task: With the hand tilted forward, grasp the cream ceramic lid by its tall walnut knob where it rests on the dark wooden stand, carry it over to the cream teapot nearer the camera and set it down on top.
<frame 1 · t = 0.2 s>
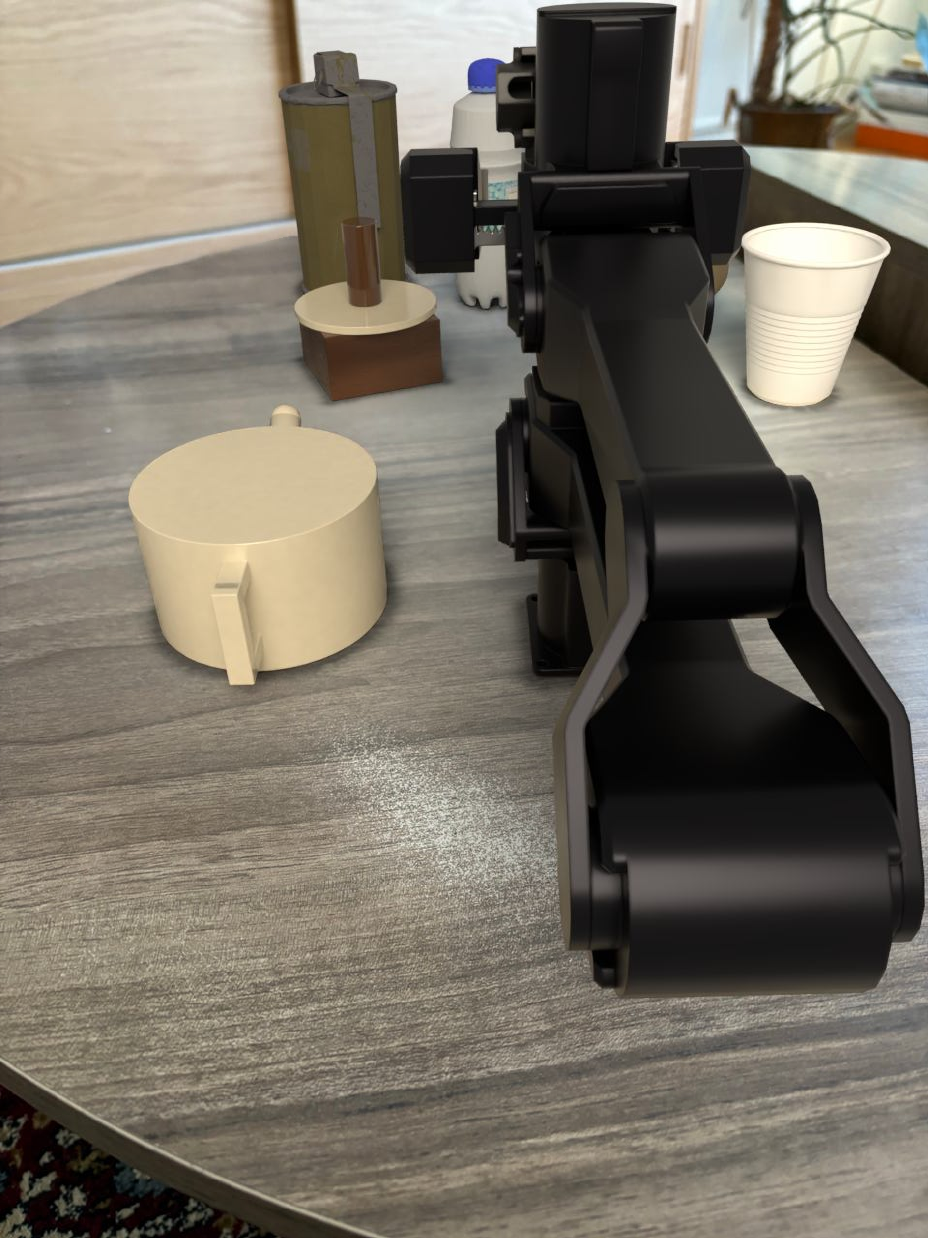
hand: (558, 175, 62), 17 cm above the table, tool horizontal, fingers open, 9 cm apart
canister: (356, 289, 97), on the table
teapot: (274, 600, 55), on the table
lid: (366, 309, 77), point 5 cm above the table, touching stand
bowl: (651, 325, 87), on the table
stand: (371, 370, 80), on the table
cup: (787, 393, 75), on the table
bottle: (490, 302, 93), on the table
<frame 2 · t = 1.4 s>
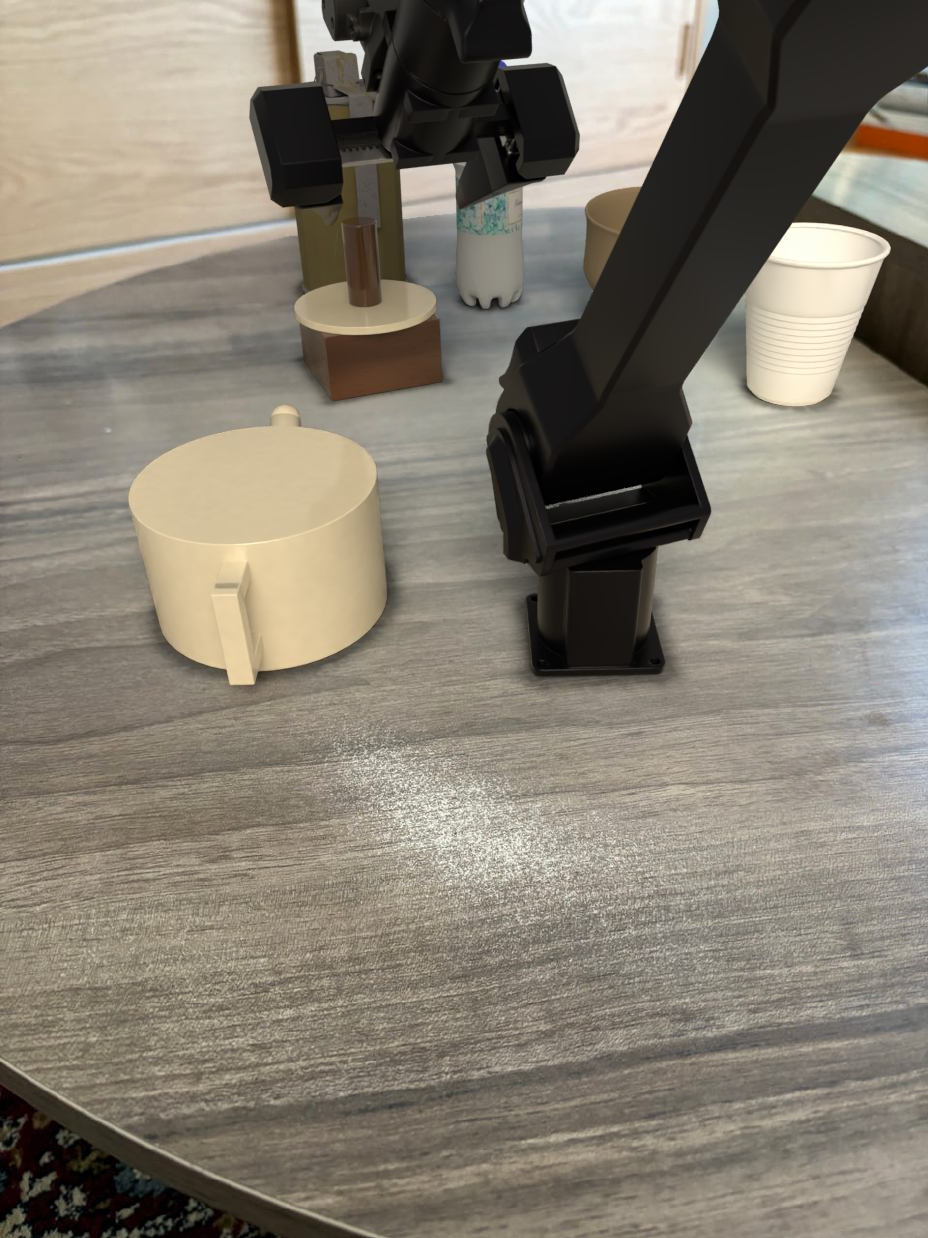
hand: (394, 210, 66), 14 cm above the table, tool tilted 45°, fingers open, 9 cm apart
nothing on the table moved.
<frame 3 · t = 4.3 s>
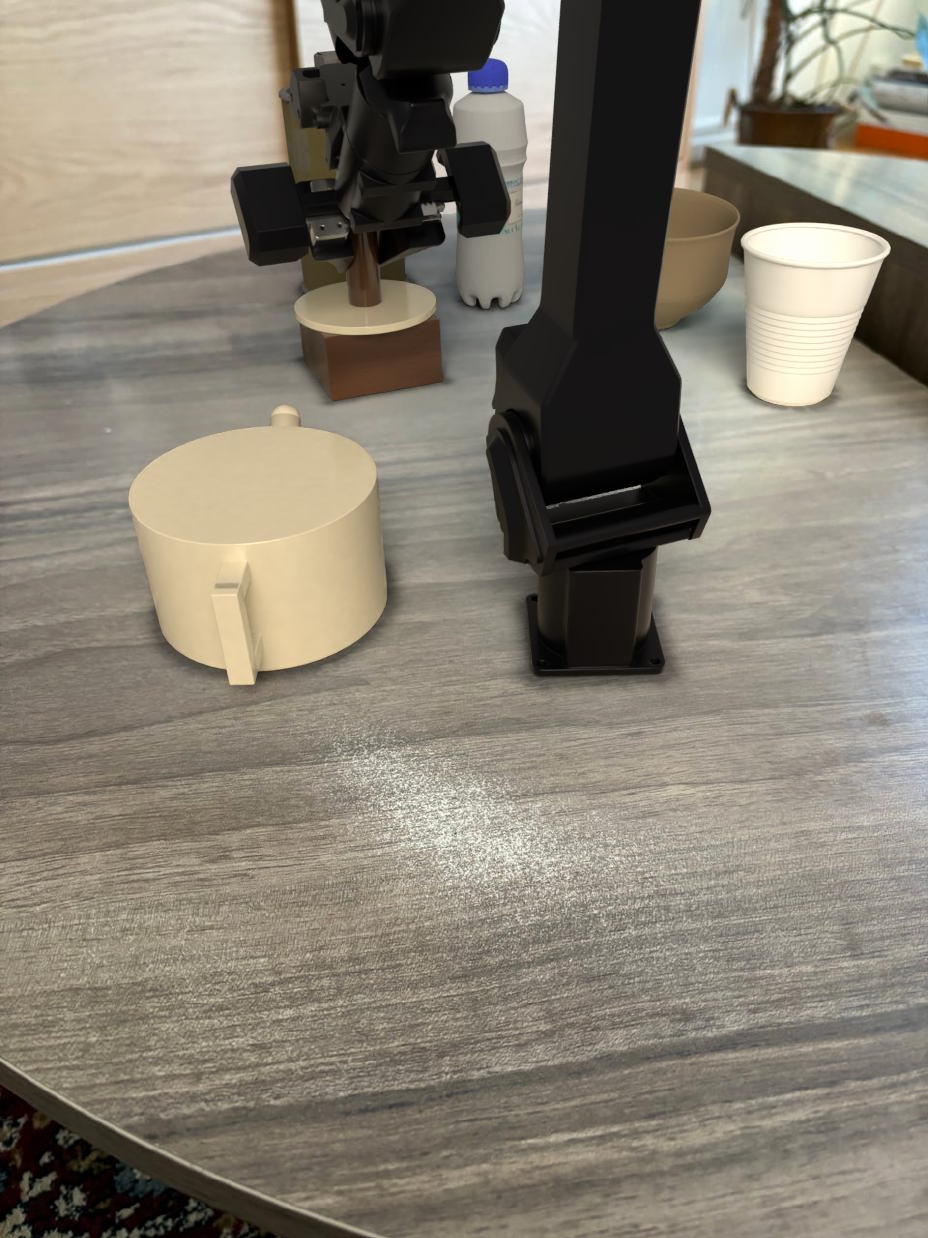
hand: (357, 264, 77), 8 cm above the table, tool tilted 45°, fingers closed on lid, 3 cm apart
lid: (366, 309, 77), point 5 cm above the table, touching gripper, stand
everything else where it was.
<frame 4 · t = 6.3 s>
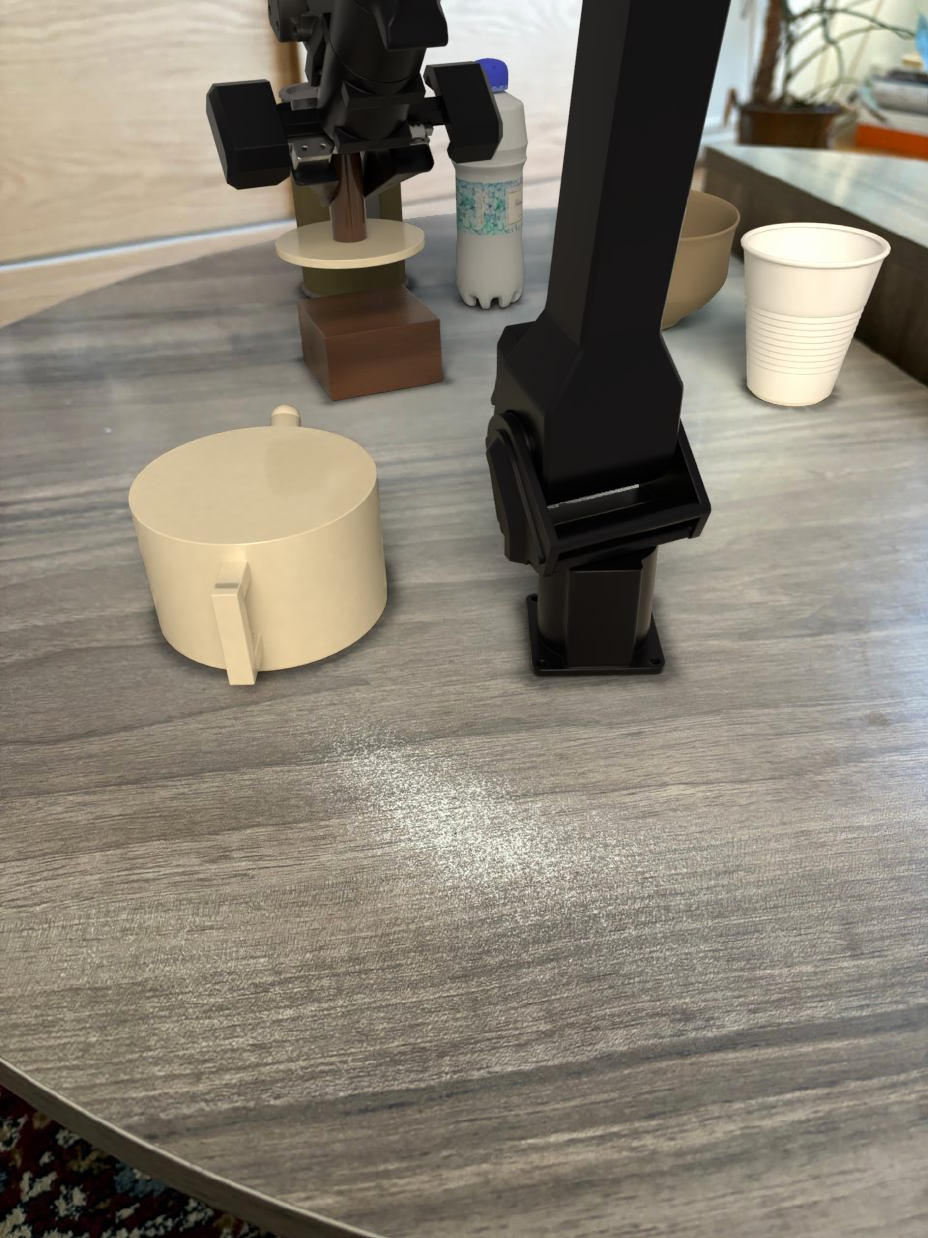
hand: (341, 198, 73), 13 cm above the table, tool tilted 45°, fingers closed on lid, 2 cm apart
lid: (351, 246, 74), point 10 cm above the table, touching gripper
everything else where it was.
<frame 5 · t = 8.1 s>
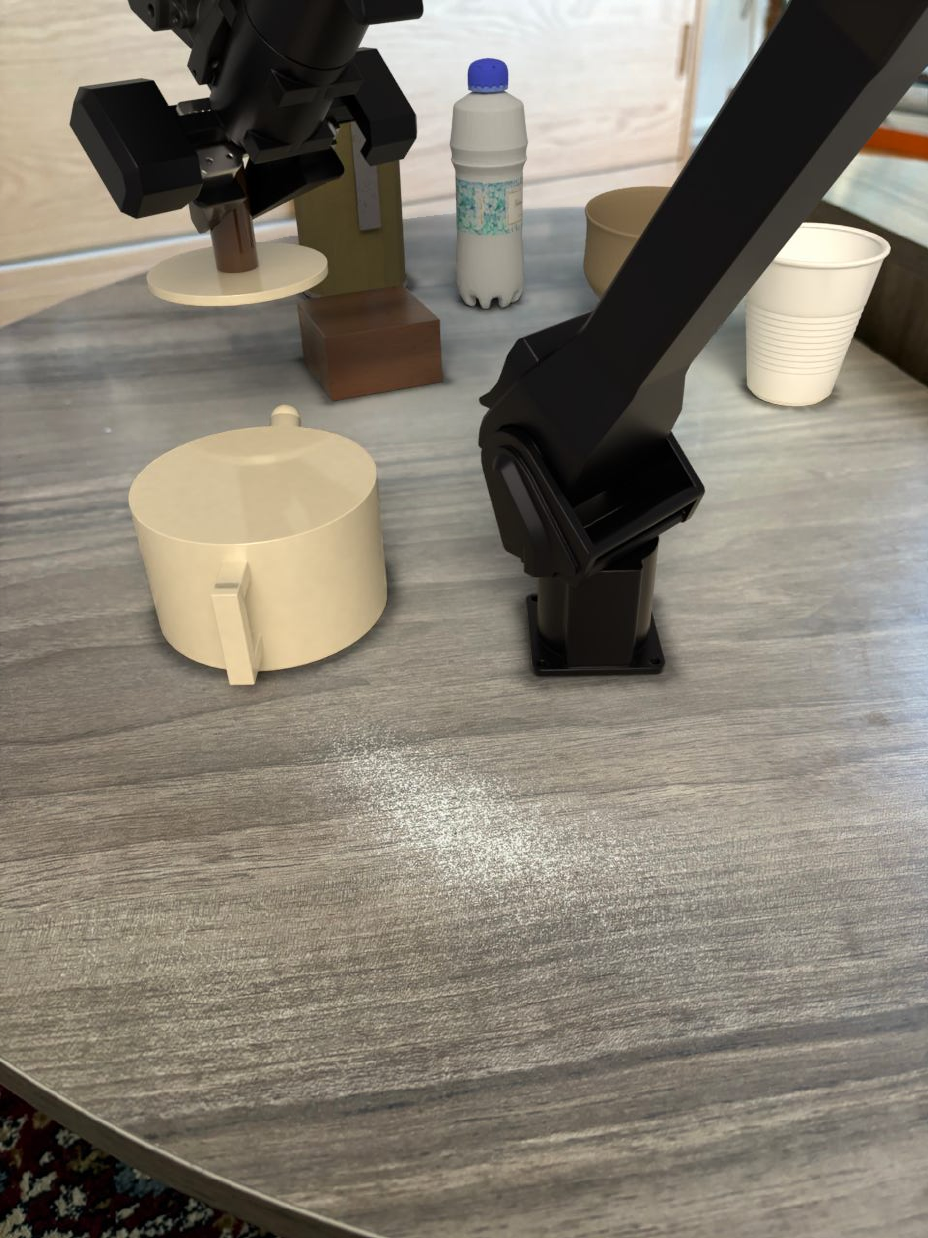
hand: (219, 221, 61), 15 cm above the table, tool tilted 45°, fingers closed on lid, 3 cm apart
lid: (239, 276, 61), point 12 cm above the table, touching gripper
everything else where it was.
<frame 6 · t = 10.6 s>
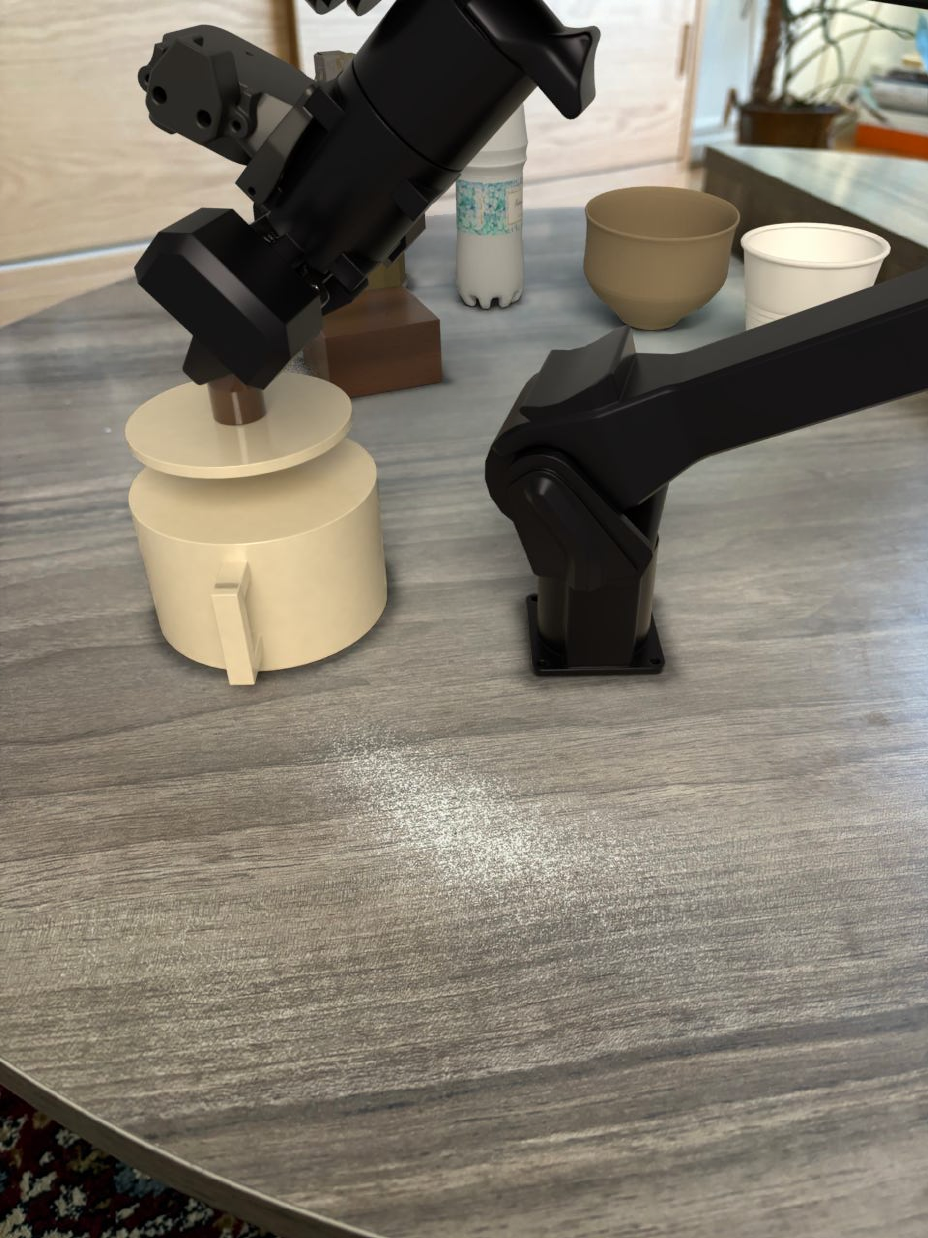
hand: (205, 364, 48), 13 cm above the table, tool tilted 45°, fingers closed on lid, 3 cm apart
lid: (241, 425, 49), point 10 cm above the table, touching gripper
everything else where it was.
when the fingers open (11 cm above the table, at t = 12.2 s): lid stays where it is, resting on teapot.
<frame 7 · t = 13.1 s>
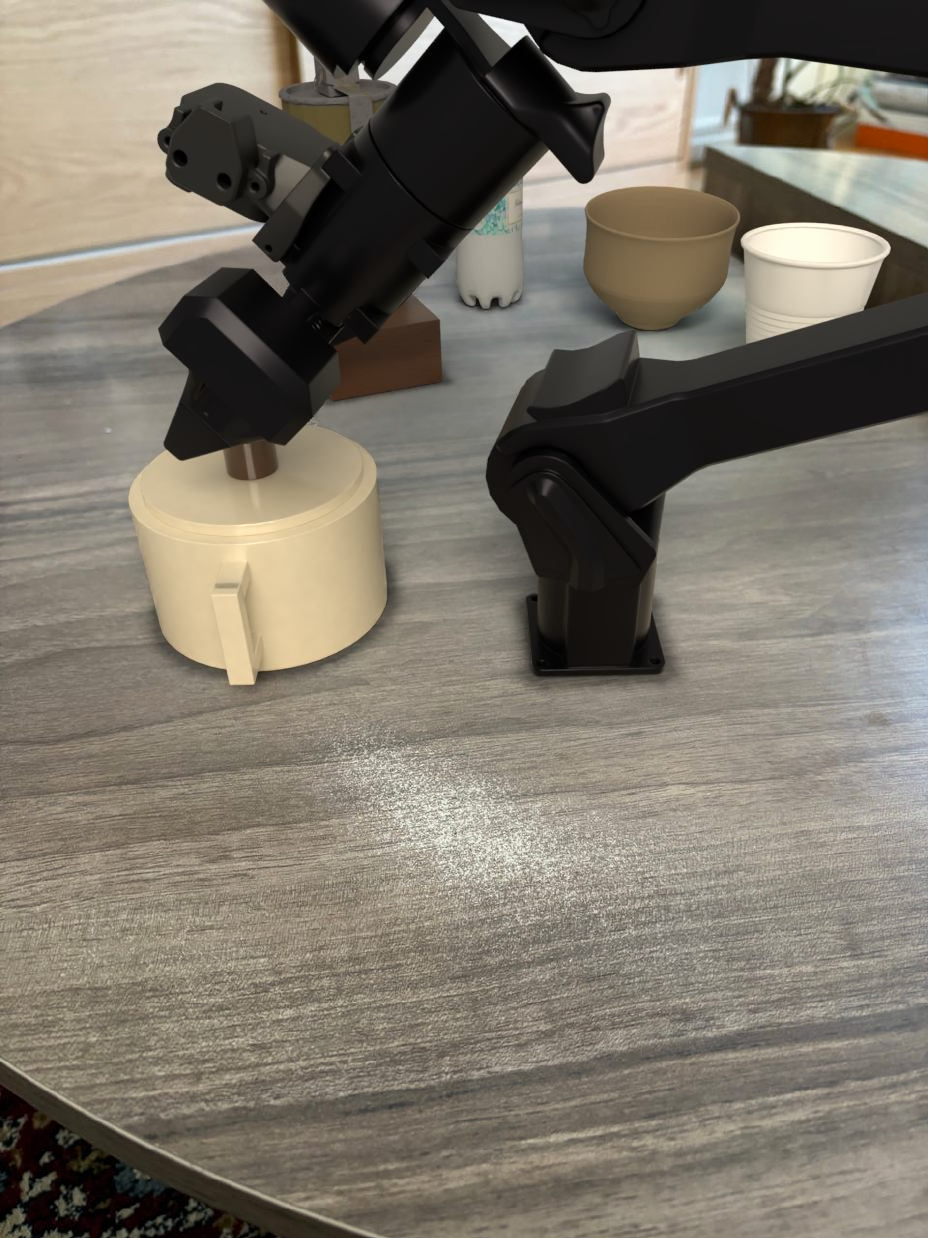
hand: (215, 409, 48), 11 cm above the table, tool tilted 45°, fingers open, 9 cm apart
lid: (254, 479, 50), point 7 cm above the table, touching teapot
everything else where it was.
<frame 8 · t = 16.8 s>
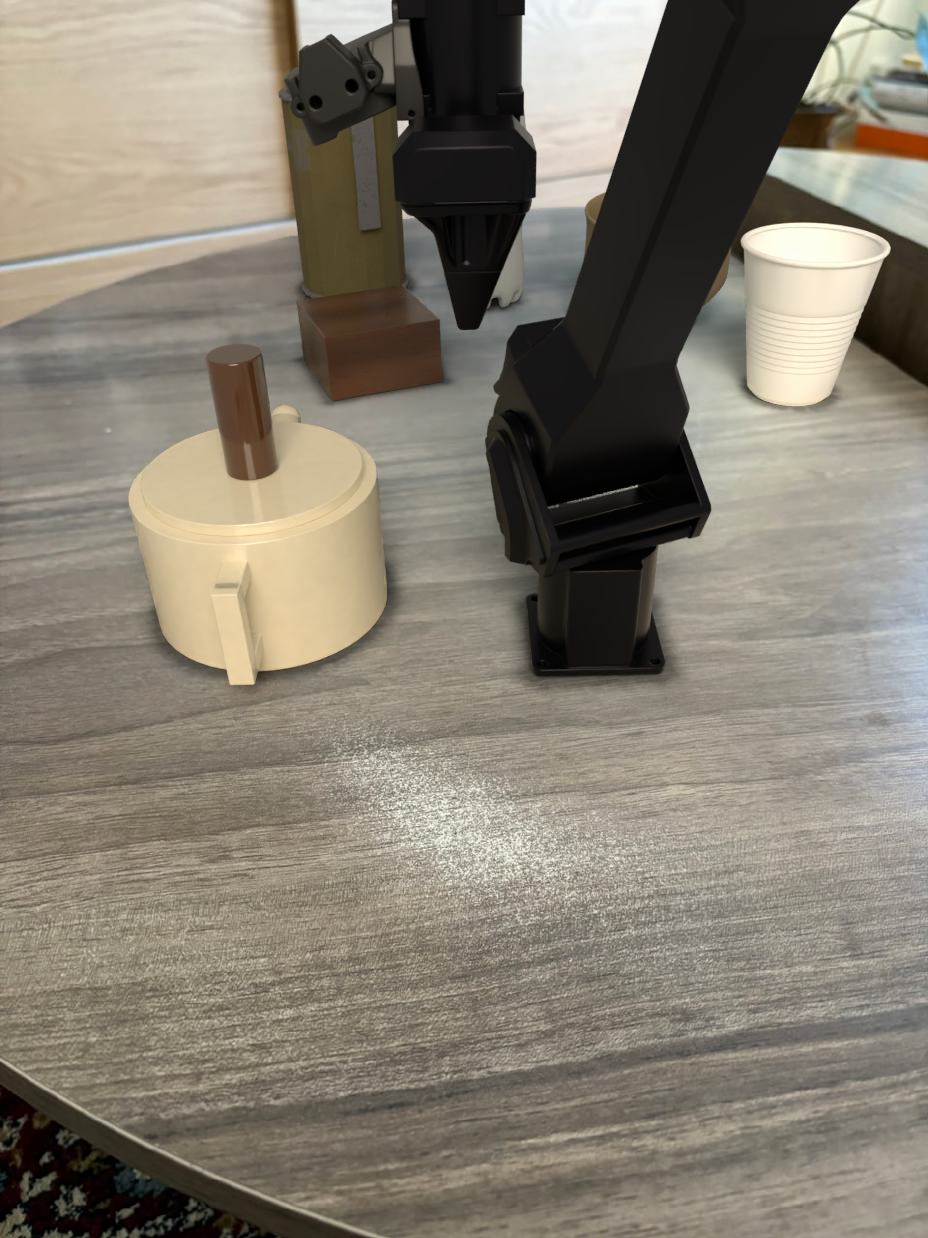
hand: (467, 299, 55), 13 cm above the table, tool pointing down, fingers open, 9 cm apart
nothing on the table moved.
at the end: lid 0.0 cm off-centre on the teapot, point 7.5 cm above the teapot's base; lid tilted 0°; the gripper is holding nothing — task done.
